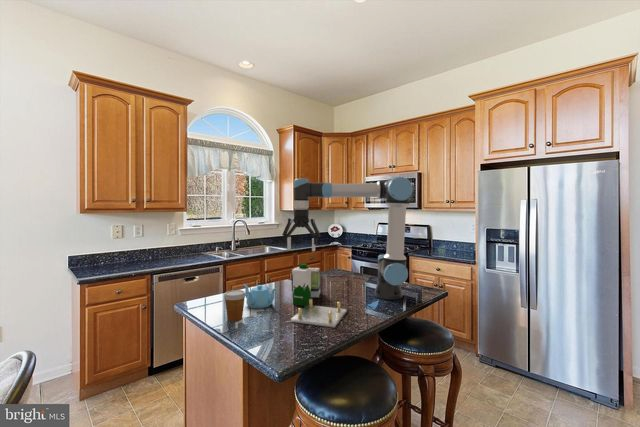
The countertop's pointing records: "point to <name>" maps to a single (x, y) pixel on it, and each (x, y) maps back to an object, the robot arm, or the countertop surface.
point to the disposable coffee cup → (234, 304)
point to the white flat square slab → (319, 315)
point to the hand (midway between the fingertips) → (301, 250)
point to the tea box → (313, 282)
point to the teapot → (259, 297)
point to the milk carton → (301, 284)
